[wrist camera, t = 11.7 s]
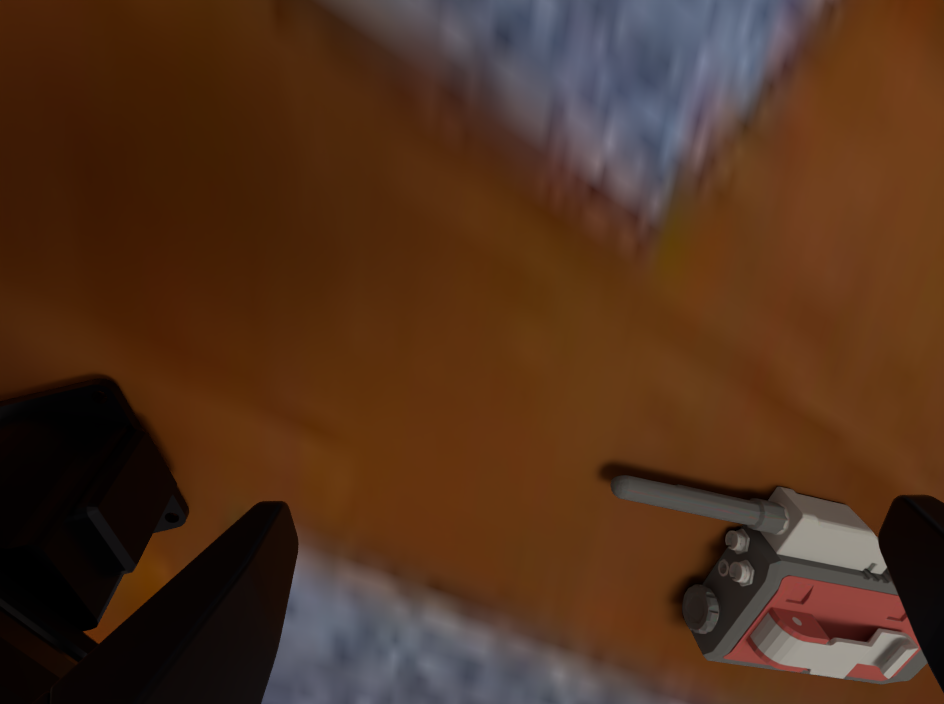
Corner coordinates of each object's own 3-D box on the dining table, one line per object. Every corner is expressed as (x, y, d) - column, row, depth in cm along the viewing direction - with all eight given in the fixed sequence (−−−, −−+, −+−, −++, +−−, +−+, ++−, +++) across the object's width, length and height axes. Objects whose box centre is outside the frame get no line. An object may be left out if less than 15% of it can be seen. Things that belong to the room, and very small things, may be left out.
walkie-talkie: (976, 526, 29) (613, 441, 24) (1065, 600, 25) (653, 517, 21) (869, 644, 33) (534, 590, 28) (932, 725, 29) (556, 679, 24)
